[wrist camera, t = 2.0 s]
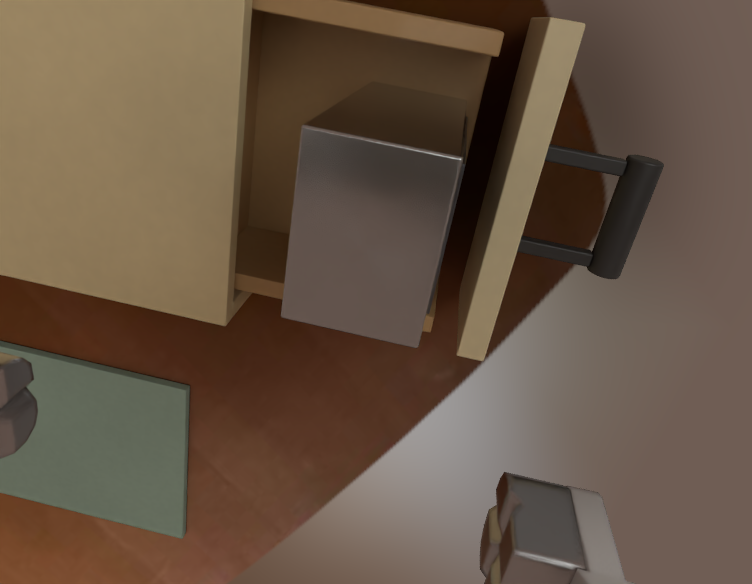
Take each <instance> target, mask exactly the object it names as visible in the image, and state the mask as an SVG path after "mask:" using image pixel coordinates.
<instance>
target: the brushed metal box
mask: <svg viewBox="0 0 752 584" xmlns="http://www.w3.org/2000/svg"><path fill="white" fill-rule="evenodd" d="M466 109H467V100H465V99H460V98H455V97H450V96H445V95H440V94H435V93H430V92H425V91H420V90H415V89H410V88H405V87H400V86H395V85H390V84H385V83H380V82H375V81H372V82H370V83H369V84H367V85H365V86H364V87H362V88H361V89H359V90H357V91H356V92H354V93H353V94H351V95H349V96H348V97H346V98H345V99H343V100H341V101H340V102H338V103H337V104H335V105H333V106H332V107H330V108H329V109H327V110H325V111H324V112H322V113H321V114H319V115H317V116H316V117H314V118H313V119H311V120H309V121H308V122H306V123H305V124H303V125H302V126H301V133H300V142H299V151H298V161H297V170H296V179H295V188H294V198H293V207H292V216H291V225H290V235H289V244H288V253H287V262H286V272H285V281H284V290H283V299H282V309H281V317H282V318H285V319H290V320H294V321H299V322H303V323H307V324H312V325H316V326H321V327H325V328H329V329H334V330H338V331H343V332H347V333H351V334H356V335H360V336H365V337H369V338H373V339H378V340H382V341H387V342H391V343H395V344H400V345H404V346H409V347H413V348H417V347H418V346H419V342H420V338H421V334H422V330H423V326H424V321H425V317H426V313H427V314H429V313H430V309H431V305H432V301H433V297H434V293H435V289H436V284H437V280H438V276H439V272H440V268H441V264H442V260H443V256H444V251H445V247H446V243H447V239H448V235H449V231H450V227H451V222H452V218H453V214H454V210H455V206H456V202H457V198H458V194H459V189H460V185H461V181H462V177H463V173H464V169H465V162H466V142H467V122H468V117H466Z"/></svg>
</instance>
